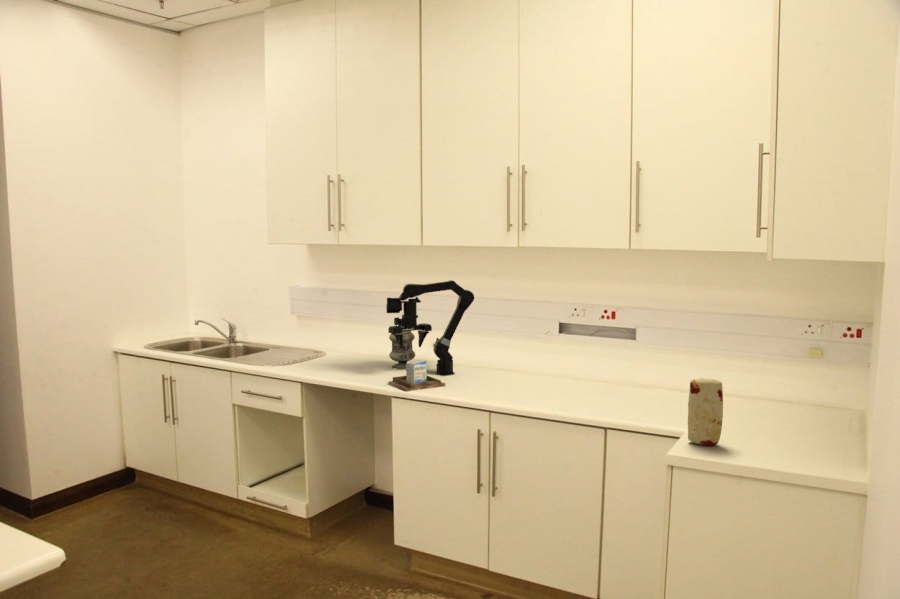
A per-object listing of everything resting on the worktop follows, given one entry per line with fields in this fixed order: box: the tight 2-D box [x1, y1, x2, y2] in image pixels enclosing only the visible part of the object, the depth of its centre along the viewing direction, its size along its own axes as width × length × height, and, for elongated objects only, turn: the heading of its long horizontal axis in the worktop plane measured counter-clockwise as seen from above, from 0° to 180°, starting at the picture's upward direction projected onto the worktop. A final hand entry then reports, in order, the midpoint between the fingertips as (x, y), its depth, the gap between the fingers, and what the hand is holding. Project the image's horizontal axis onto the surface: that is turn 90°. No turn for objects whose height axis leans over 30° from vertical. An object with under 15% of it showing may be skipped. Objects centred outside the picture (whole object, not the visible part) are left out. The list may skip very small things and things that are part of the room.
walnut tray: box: [388, 375, 446, 392], centre depth 290 cm, size 18×16×2 cm
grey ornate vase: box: [388, 331, 416, 370], centre depth 326 cm, size 12×12×18 cm
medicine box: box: [405, 359, 428, 384], centre depth 290 cm, size 8×4×9 cm, turn 141°
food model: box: [687, 377, 724, 447], centre depth 208 cm, size 10×7×20 cm
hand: (410, 348), depth 308 cm, fingers open, 9 cm apart
